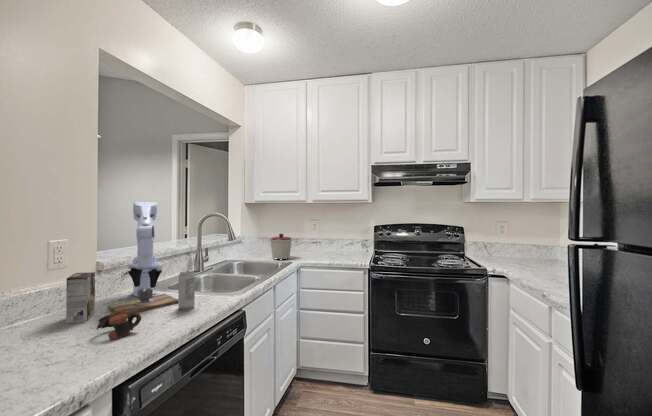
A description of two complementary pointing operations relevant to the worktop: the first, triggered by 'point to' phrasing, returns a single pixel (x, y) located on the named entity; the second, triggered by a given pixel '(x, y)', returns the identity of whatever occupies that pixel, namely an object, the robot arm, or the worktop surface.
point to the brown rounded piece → (119, 323)
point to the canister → (281, 247)
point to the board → (143, 304)
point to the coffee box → (80, 297)
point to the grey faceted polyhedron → (144, 294)
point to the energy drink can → (186, 289)
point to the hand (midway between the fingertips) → (145, 286)
